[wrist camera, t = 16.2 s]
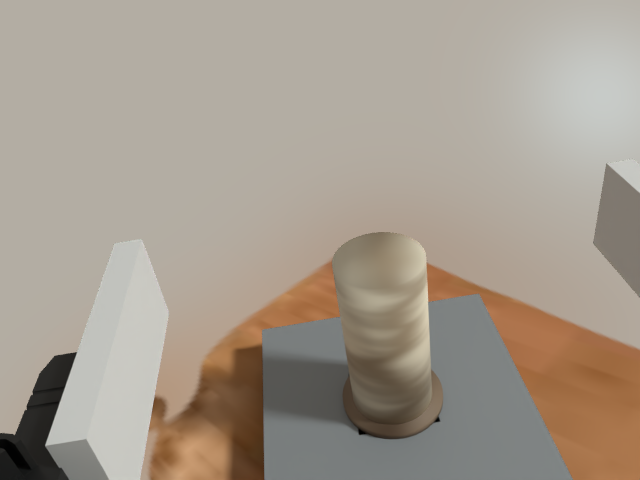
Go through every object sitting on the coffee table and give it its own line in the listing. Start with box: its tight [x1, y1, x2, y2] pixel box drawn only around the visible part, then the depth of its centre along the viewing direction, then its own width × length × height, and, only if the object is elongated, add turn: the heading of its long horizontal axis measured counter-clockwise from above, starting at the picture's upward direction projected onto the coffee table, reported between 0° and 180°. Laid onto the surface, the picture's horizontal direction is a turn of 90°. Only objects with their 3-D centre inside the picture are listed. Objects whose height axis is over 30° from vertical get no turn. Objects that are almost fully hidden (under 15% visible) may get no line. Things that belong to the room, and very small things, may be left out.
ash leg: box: [332, 232, 443, 439], centre depth 42 cm, size 8×8×16 cm
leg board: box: [262, 294, 573, 480], centre depth 46 cm, size 20×20×3 cm
